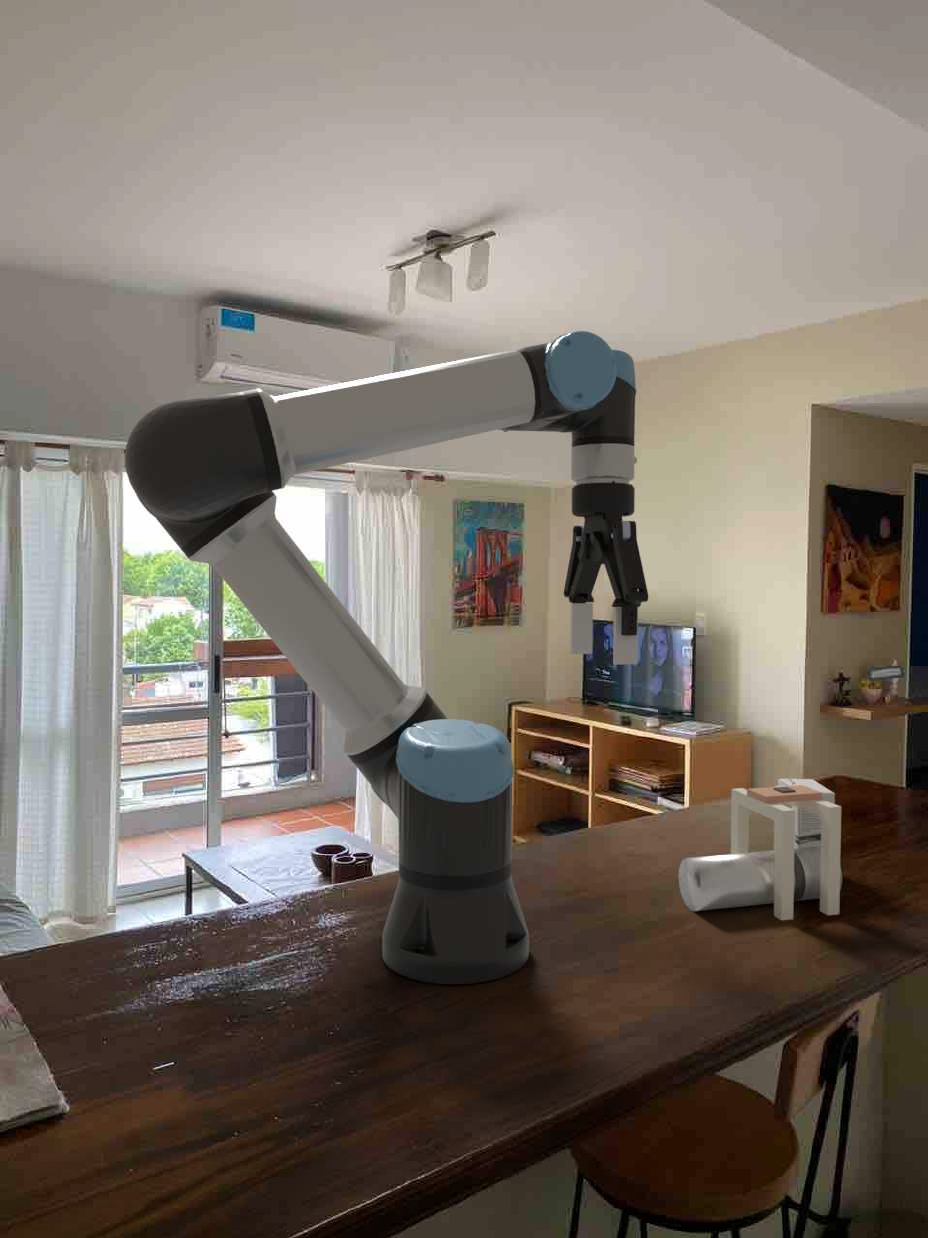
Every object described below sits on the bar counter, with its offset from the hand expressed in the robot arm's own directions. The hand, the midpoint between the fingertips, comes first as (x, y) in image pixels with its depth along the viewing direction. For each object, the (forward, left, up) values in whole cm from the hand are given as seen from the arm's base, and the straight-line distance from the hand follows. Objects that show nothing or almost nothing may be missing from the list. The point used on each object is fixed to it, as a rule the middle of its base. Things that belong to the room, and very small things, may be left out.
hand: (602, 659), depth 114 cm
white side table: (+20, -9, -29) cm, 36 cm away
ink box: (+28, -1, -29) cm, 40 cm away
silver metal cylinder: (+16, -9, -29) cm, 34 cm away
